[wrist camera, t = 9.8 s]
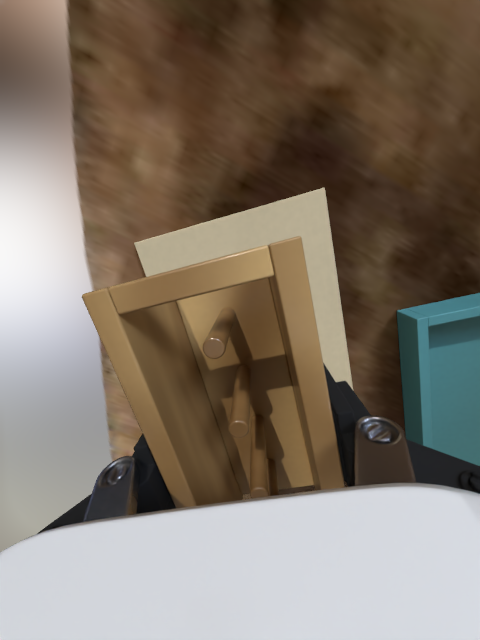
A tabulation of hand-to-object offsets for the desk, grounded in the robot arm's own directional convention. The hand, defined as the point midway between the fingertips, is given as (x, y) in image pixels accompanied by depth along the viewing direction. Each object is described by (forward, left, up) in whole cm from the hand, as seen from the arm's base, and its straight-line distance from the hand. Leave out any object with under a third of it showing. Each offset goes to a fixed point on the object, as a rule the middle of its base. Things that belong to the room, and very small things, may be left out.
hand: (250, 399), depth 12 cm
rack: (0, 0, -1) cm, 1 cm away
